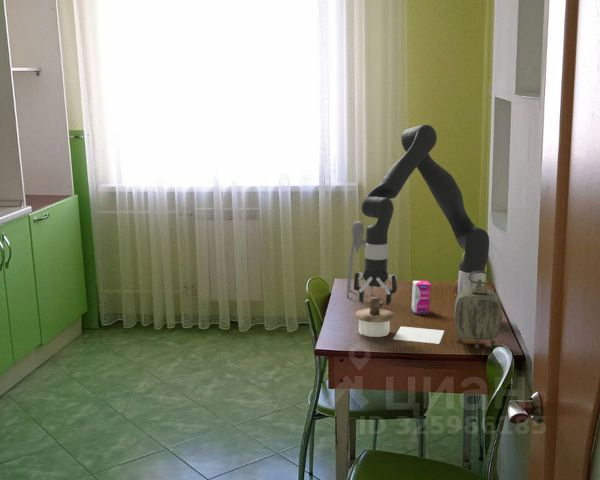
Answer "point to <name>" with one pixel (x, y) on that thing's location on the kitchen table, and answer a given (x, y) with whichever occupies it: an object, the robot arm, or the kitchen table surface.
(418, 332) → the mat
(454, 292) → the tin
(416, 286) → the supplement box
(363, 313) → the lid
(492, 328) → the tabletop clock
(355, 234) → the citrus juicer
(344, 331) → the kitchen table surface
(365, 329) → the bowl
